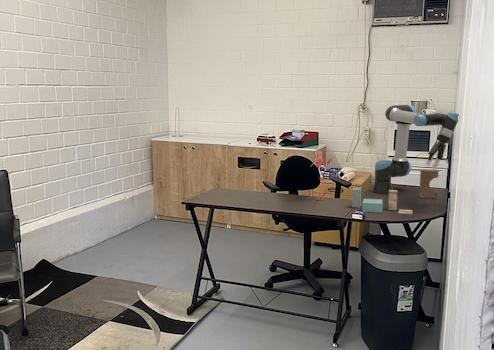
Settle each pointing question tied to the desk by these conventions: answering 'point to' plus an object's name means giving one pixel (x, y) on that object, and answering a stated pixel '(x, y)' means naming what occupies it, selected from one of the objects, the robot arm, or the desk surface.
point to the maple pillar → (392, 200)
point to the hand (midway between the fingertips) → (430, 166)
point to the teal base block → (372, 205)
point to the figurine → (318, 162)
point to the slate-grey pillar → (356, 197)
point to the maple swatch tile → (405, 211)
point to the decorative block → (427, 183)
